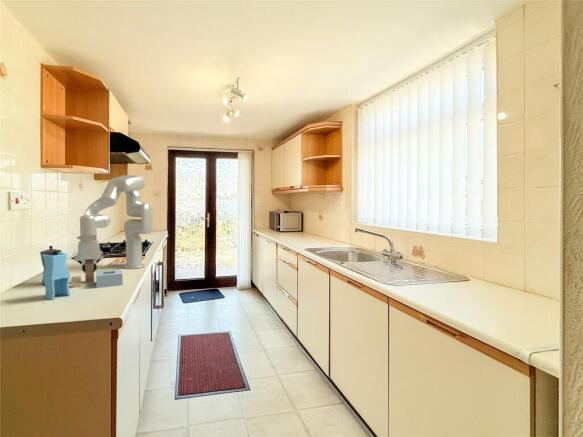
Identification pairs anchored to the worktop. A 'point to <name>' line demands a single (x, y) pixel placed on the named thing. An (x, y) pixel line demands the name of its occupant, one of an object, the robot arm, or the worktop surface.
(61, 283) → the blue hollow-base tower
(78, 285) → the oak peg short
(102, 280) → the socket block
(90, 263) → the walnut peg long
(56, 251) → the moka pot
